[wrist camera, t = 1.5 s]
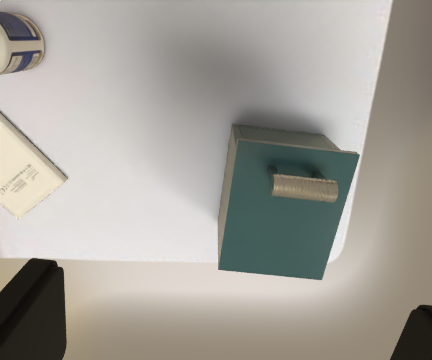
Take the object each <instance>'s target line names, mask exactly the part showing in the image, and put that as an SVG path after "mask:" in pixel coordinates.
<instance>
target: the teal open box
mask: <svg viewBox="0 0 432 360" xmlns="http://www.w3.org/2000/svg"><path fill="white" fill-rule="evenodd" d="M238 138H242V139H250V140H259V141H267V142H275V143H284V144H292V145H301V146H309V147H317V148H326V149H334V150H340V149H339V148H338V147H337V146H336V145H335V144H333V143H332V142H331V141H330V140H329V139H328V138H327V137H326V136H325V135H319V134H311V133H302V132H294V131H286V130H278V129H269V128H261V127H253V126H244V125H236V124H232V126H231V133H230V140H229V147H228V154H227V161H226V168H225V175H224V182H223V189H222V196H221V203H220V210H219V217H218V263H219V257H220V250H221V244H222V237H223V230H224V224H225V217H226V211H227V204H228V197H229V191H230V184H231V178H232V171H233V164H234V158H235V151H236V145H237V139H238Z"/></svg>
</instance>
